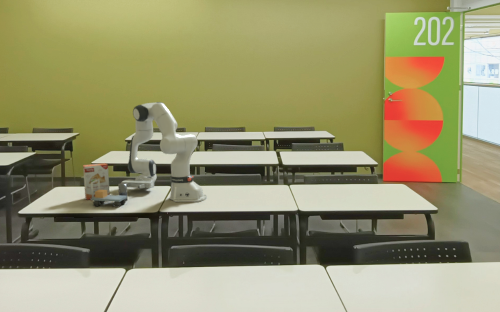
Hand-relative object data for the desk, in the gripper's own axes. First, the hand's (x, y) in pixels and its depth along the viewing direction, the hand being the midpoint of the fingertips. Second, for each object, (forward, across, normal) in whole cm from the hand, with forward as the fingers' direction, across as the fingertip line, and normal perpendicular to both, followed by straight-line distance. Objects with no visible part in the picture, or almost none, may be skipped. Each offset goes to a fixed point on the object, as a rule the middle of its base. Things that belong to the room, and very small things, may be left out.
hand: (132, 186), depth 297 cm
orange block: (+23, -8, +1) cm, 24 cm away
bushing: (+12, 0, +6) cm, 13 cm away
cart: (+23, -3, +6) cm, 24 cm away
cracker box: (+9, -19, +6) cm, 22 cm away
